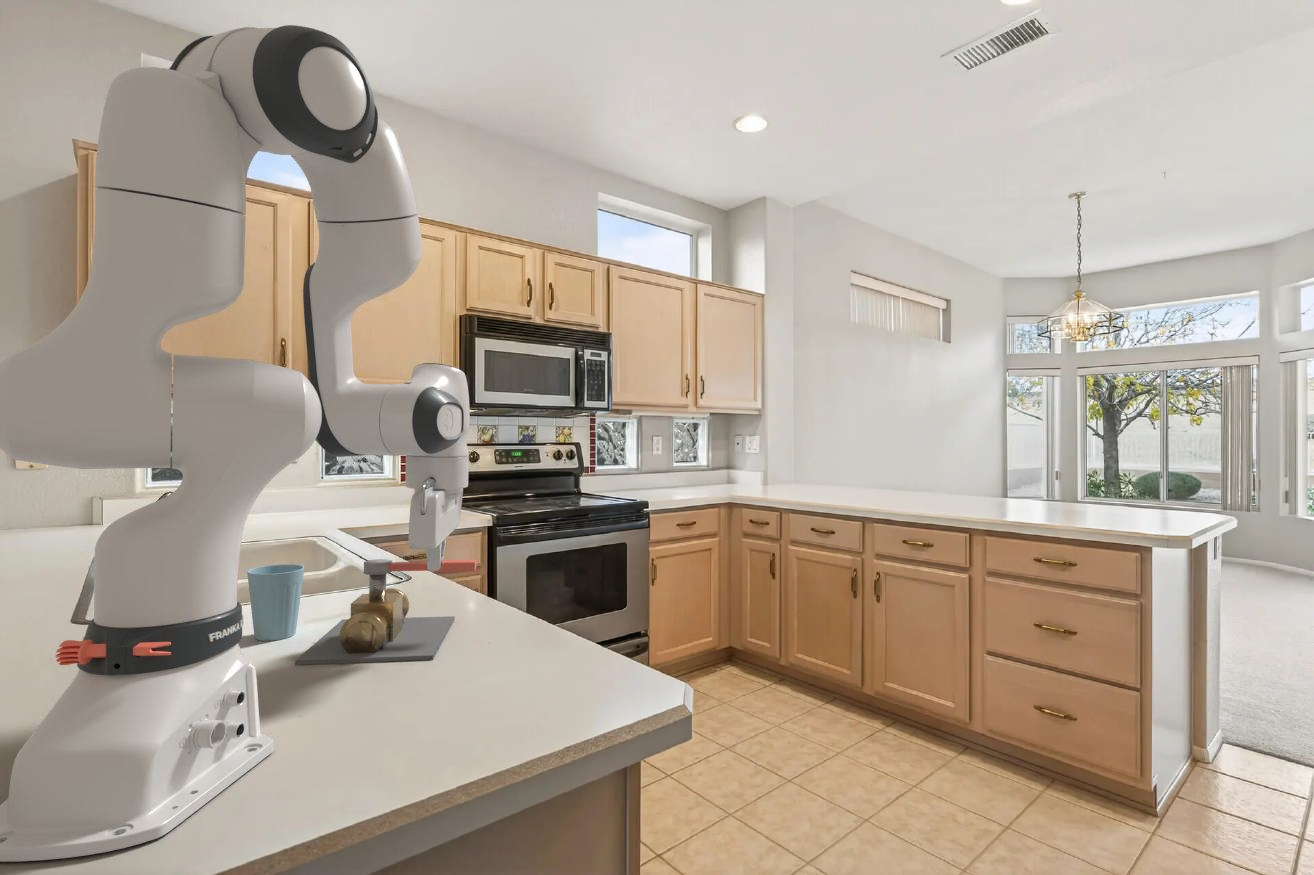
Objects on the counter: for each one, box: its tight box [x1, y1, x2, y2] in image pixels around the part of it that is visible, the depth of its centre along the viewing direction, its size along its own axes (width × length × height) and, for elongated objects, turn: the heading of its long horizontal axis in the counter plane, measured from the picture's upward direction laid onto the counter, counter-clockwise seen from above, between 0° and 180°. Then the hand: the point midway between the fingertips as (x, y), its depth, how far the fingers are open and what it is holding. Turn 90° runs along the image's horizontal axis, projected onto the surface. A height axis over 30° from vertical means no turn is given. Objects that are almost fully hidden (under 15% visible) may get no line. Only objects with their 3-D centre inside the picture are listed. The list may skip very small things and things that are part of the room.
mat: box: [294, 616, 455, 666], centre depth 100 cm, size 20×18×1 cm
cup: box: [246, 563, 305, 642], centre depth 101 cm, size 8×8×10 cm
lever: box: [363, 558, 477, 576], centre depth 101 cm, size 16×4×2 cm, turn 99°
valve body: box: [340, 574, 410, 654], centre depth 100 cm, size 16×6×10 cm, turn 9°
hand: (435, 568), depth 97 cm, fingers closed
